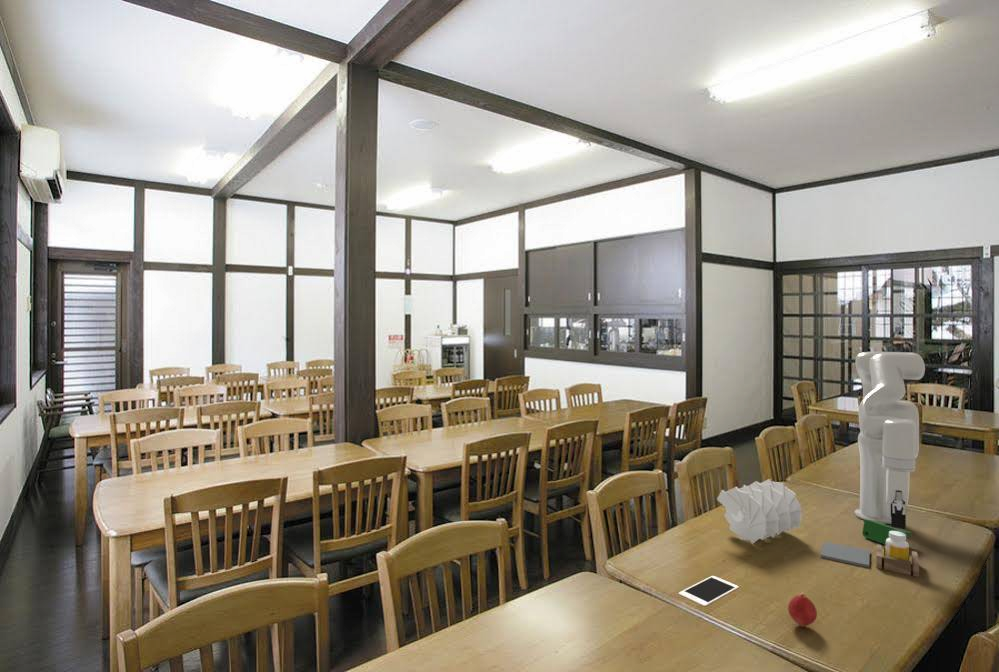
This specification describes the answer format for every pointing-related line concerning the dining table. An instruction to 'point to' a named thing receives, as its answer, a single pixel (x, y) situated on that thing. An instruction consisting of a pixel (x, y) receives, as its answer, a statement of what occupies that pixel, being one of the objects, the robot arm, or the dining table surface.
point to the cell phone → (708, 590)
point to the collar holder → (897, 563)
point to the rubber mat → (845, 554)
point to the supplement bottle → (897, 546)
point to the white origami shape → (761, 510)
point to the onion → (802, 610)
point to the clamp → (879, 531)
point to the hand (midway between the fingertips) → (897, 522)
